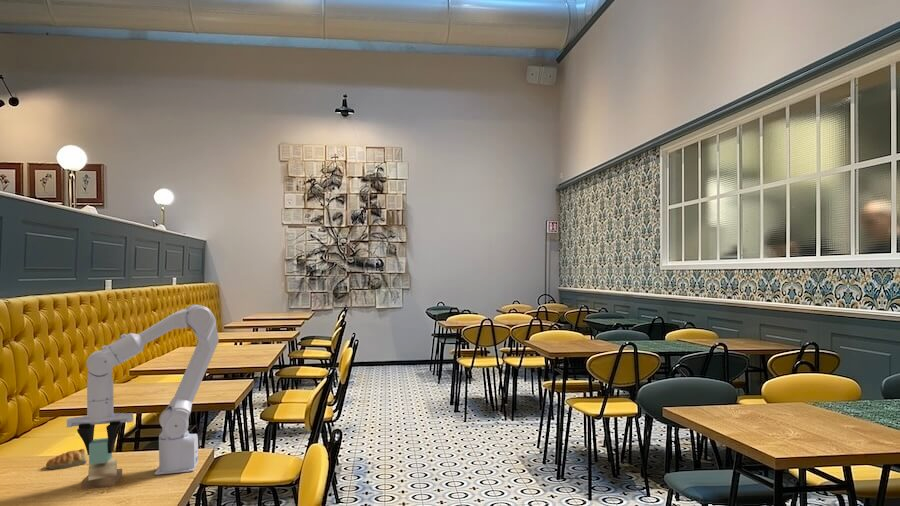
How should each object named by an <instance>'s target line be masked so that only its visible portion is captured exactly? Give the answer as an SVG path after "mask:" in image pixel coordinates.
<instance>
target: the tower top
mask: <svg viewBox="0 0 900 506" xmlns="http://www.w3.org/2000/svg"><path fill="white" fill-rule="evenodd" d="M117 461H118V460H117V458H113V459H110V460H109V461H108V462H105V463H94V464H89V463H88V469H87V471H88V473H87V474H88V475H87V476H88V480H94V479H100V478H106V477H111V476H117V469H118V463H117Z"/></svg>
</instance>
